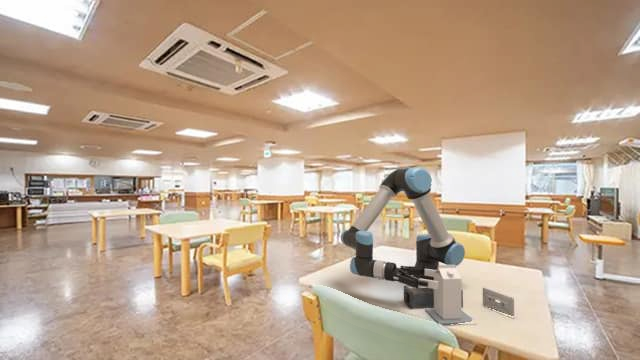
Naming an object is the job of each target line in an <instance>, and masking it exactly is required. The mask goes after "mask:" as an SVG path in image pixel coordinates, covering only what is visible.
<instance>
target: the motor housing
mask: <svg viewBox="0 0 640 360" xmlns="http://www.w3.org/2000/svg"><path fill="white" fill-rule="evenodd" d="M463 297H464V290H463V289H461V308H464V298H463ZM403 303H404V304H405V305H406V306H407V308H409V309H410V310H415V309H416V310H417V309H434V289H432V288H427V287H419V288H414V287H410V286H408V285H406V284H404V285H403Z"/></svg>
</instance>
